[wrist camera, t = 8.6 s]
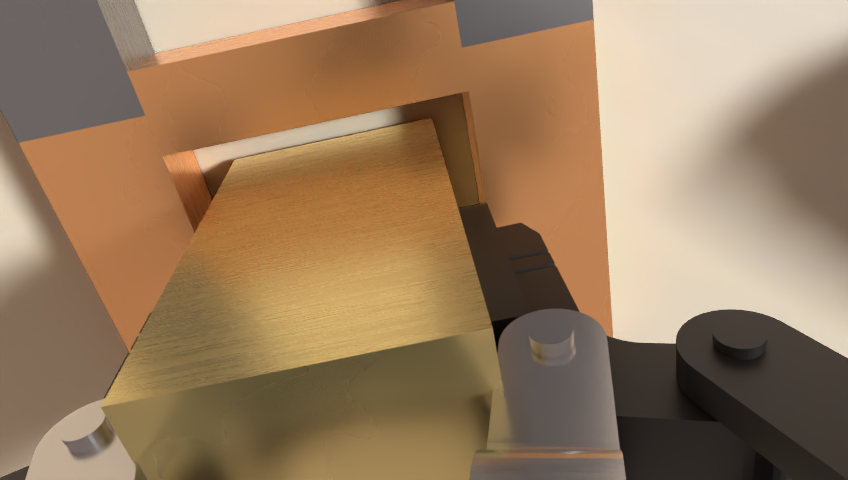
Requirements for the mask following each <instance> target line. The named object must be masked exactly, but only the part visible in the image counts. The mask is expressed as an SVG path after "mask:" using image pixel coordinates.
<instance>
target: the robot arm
mask: <svg viewBox="0 0 848 480" xmlns="http://www.w3.org/2000/svg"><path fill="white" fill-rule="evenodd" d="M458 209H459V213H460V216H461V220H462V223H463V227H464V230H465V234H466V237H467V241H468V244H469V248H470V251H471V255H472V258H473V261H474V265H475V268H476V272H477V275H478V279H479V282H480V286H481V289H482V293H483V296H484V300H485V303H486V306H487V310H488V313H489V317H490V320H491V324H492V327H493V333H494V338H495V344H496V350H497V356H498V362H499V367H500V373H501V379H502V385H503V388H498V389H493V397H492V406H491V414H490V423H489V432H488V441H487V448H486V450H476V452H475V453H474V456H473V460H472V464H471V470H470V477H469V480H848V358H846V357H844V356H842V355H841V354H839V353H837V352H835V351H833V350H832V349H830V348H828V347H826V346H824V345H823V344H821V343H819V342H817V341H815V340H814V339H812V338H810V337H808V336H806V335H805V334H803V333H801V332H799V331H797V330H796V329H794V328H792V327H790V326H788V325H787V324H785V323H783V322H781V321H779V320H777V319H775V318H772V317H770V316H767V315H764V314H760V313H756V312H751V311H745V310H717V311H711V312H707V313H703V314H700V315H698V316H695V317H693V318H692V319H690V320H688V321H687V322H686V323H685V324H684V325H682V327H681V328H680V330H679V331H678V334H677V336H676V344H664V343H636V342H628V341H622V340H619V339H615V338H612V337H609V336H607V335H606V332H605V331H604V329H603V327H602V326H601V325H600V324H599V323H598V322H597V321H596V320H595V319H593V318H592V317H590V316H588V315H586V314H583V313H581V312H580V311H579V309H578V307H577V305H576V303H575V301H574V299H573V297H572V296H571V294H570V292H569V290H568V288H567V286H566V284H565V282H564V280H563V278H562V276H561V274H560V272H559V270H558V268H557V266H555V262H554V260H553V259H552V257H551V255H550V253H548V249H547V247H546V245H545V243H544V241H543V239H542V237H541V235H540V234H539V233H538V232H536V231H534V230H533V229H531V228H529V227H528V226H526V225H524V224H523V223H516V224H512V225H507V226H502V227H496V225H495V222H494V219H493V217H492V214H491V212H490V209H489V207H488V204H487V202H486V203H481V204H476V205H472V206H467V207H462V208H458ZM151 313H152V312H151ZM151 313H150V314H149V316H148V318H149V317H150V315H151ZM148 318H147V319H146V321H145V323H144V325H143V327H142V329H141V330H140V332H139V333H141V331H142V330H143V328H144V326H145V324H146V322H147V320H148ZM138 337H139V336H137V338H136V340H135V341H134V343H133V345H132V347H131V350H132V348H133V346H134V344H135V342H136V341H137V339H138ZM129 354H130V353H128V354H127V356H126V358H125V360H124V362H123V364H122V365H121V367H120V369H119V371H118V373H117V375H116V376H115V378H114V380H113V382H112V384H111V386H110V387H109V389H108V391H107V393H106V395H105V397H104V398H103V399H101V400H98V401H95V402H92V403H90V404H87V405H85V406H83V407H81V408H79V409H77V410H75V411H74V412H72V413H70V414H69V415H67V416H66V417H64V418H63V419H62V420H60V421H59V422H58V423H57V424H55V425H54V426H53V427H52V428H51V429H50V430H49V431H48V432H47V433H46V434H45V435H44V437H43V438H42V439H41V440H40V442H39V443H38V445H37V447H36V449H35V451H34V453H33V457H32V460H31V463H30V466H27V467H25V468H23V469H20V470H18V471H15V472H13V473H11V474H8V475H6V476H4V477H1V478H0V480H147V478H146V476H145V474H144V473H143V471H142V469H141V468H140V466H139V464H138V462H137V461H134V462H133V461H132V460H131V458H130V456H129V455H128V453H127V451H126V450H125V448H124V446H123V444H122V443H121V441H120V439H119V438H118V436H117V434H116V433H115V431H114V429H113V427H112V426H111V424H110V422H109V421H108V419H107V417H106V416H105V414H104V412H103V410H102V409H101V405H102V403H103V402H104V400H105V398H106V396H107V394H108V392H109V390H110V389H111V387H112V385H113V383H114V381H115V379H116V378H117V376H118V374H119V372H120V370H121V368H122V366H123V365H124V363H125V361H126V359H127V357H128V355H129Z"/></svg>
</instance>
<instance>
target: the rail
mask: <svg viewBox="0 0 848 480" xmlns="http://www.w3.org/2000/svg"><path fill="white" fill-rule="evenodd" d="M458 93H462V97H463V103H464V109H465V115H466V121H467V127H468V133H469V140H470V146H471V152H472V158H473V164H474V170H475V176H476V182H477V188H478V194H479V200H480V204H481V203H486V202H487V204H488V207H489V209H490V212H491V214H492V217H493V219H494V222H495V225H496V227H502V226H507V225H512V224H516V223H523V224H524V225H526V226H528V227H529V228H531V229H533V230H534V231H536V232H538V233H539V234H540V235H541V237H542V239H543V241H544V243H545V245H546V247H547V249H548V253H550V255H551V257H552V259H553V260H554V262H555V266H557V268H558V270H559V272H560V274H561V276H562V278H563V280H564V282H565V284H566V286H567V288H568V290H569V292H570V294H571V296H572V297H573V299H574V301H575V303H576V305H577V307H578V309H579V311H580V312H581V313H583V314H586V315H588V316H590V317H592V318H593V319H595V320H596V321H597V322H598V323H599V324H600V325H601V326H602V327H603V329H604V331H605V332H606V335H607V336H609V337H612V338H613V330H612V314H611V298H610V281H609V265H608V248H607V232H606V216H605V199H604V183H603V167H602V150H601V134H600V118H599V101H598V85H597V68H596V52H595V36H594V19H593V3H592V0H400V1H395V2H391V3H386V4H381V5H377V6H372V7H367V8H363V9H358V10H354V11H349V12H344V13H340V14H335V15H331V16H326V17H321V18H317V19H312V20H308V21H303V22H298V23H294V24H289V25H284V26H280V27H275V28H271V29H266V30H261V31H257V32H252V33H248V34H243V35H238V36H234V37H229V38H225V39H220V40H215V41H211V42H206V43H201V44H197V45H192V46H188V47H183V48H178V49H174V50H169V51H165V52H160V53H154V50H153V48H152V45H151V42H150V40H149V37H148V35H147V32H146V30H145V27H144V25H143V22H142V20H141V17H140V14H139V12H138V9H137V7H136V4H135V2H134V0H0V109H1V111H2V113H3V115H4V117H5V119H6V121H7V123H8V125H9V126H10V128H11V130H12V132H13V134H14V136H15V138H16V140H17V141H18V143H19V145H20V147H21V149H22V151H23V153H24V155H25V157H26V158H27V160H28V162H29V164H30V166H31V168H32V170H33V172H34V174H35V175H36V177H37V179H38V181H39V183H40V185H41V187H42V189H43V191H44V192H45V194H46V196H47V198H48V200H49V202H50V204H51V206H52V208H53V209H54V211H55V213H56V215H57V217H58V219H59V221H60V223H61V225H62V226H63V228H64V230H65V232H66V234H67V236H68V238H69V240H70V242H71V243H72V245H73V247H74V249H75V251H76V253H77V255H78V257H79V258H80V260H81V262H82V264H83V266H84V268H85V270H86V272H87V274H88V275H89V277H90V279H91V281H92V283H93V285H94V287H95V289H96V291H97V292H98V294H99V296H100V298H101V300H102V302H103V304H104V306H105V308H106V309H107V311H108V313H109V315H110V317H111V319H112V321H113V323H114V325H115V326H116V328H117V330H118V332H119V334H120V336H121V338H122V340H123V342H124V343H125V345H126V347H127V349H128V351H129V353H130V352H131V347H132V345H133V343H134V341H135V340H136V338H137V336H139V335H140V333H139V332H140V330H141V329H142V327H143V325H144V323H145V321H146V319H147V318H148V316H149V314H150V313H151V312H152V311H153V309H154V307H155V306H156V304H157V302H158V300H159V298H160V296H161V294H162V293H163V291H164V289H165V287H166V285H167V283H168V282H169V280H170V278H171V276H172V274H173V272H174V270H175V269H176V267H177V265H178V263H179V261H180V259H181V258H182V256H183V254H184V252H185V250H186V248H187V246H188V245H189V243H190V241H191V239H192V237H193V235H194V234H195V232H196V230H197V228H198V226H199V224H200V222H201V221H202V219H203V217H204V215H205V213H206V211H207V210H208V208H209V206H210V204H211V202H212V198H211V196H210V193H209V191H208V188H207V185H206V183H205V180H204V178H203V175H202V173H201V170H200V168H199V165H198V162H197V160H196V157H195V155H194V152H193V150H194V149H199V148H204V147H208V146H213V145H218V144H223V143H227V142H232V141H237V140H241V139H246V138H251V137H255V136H260V135H265V134H270V133H274V132H279V131H284V130H288V129H293V128H298V127H303V126H307V125H312V124H317V123H321V122H326V121H331V120H335V119H340V118H345V117H350V116H354V115H359V114H364V113H368V112H373V111H378V110H382V109H387V108H392V107H397V106H401V105H406V104H411V103H415V102H420V101H425V100H429V99H434V98H439V97H444V96H448V95H453V94H458Z"/></svg>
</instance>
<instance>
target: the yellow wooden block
mask: <svg viewBox="0 0 848 480" xmlns="http://www.w3.org/2000/svg"><path fill="white" fill-rule="evenodd" d="M498 388H503V385H502V379H501V373H500V367H499V362H498V356H497V350H496V344H495V338H494V333H493V327H492V324H491V320H490V317H489V313H488V310H487V306H486V303H485V300H484V296H483V293H482V289H481V286H480V282H479V279H478V275H477V272H476V268H475V265H474V261H473V258H472V255H471V251H470V248H469V244H468V241H467V237H466V234H465V230H464V227H463V223H462V220H461V216H460V213H459V209H458V206H457V203H456V199H455V196H454V192H453V189H452V185H451V182H450V178H449V175H448V171H447V168H446V164H445V161H444V158H443V154H442V151H441V147H440V144H439V140H438V137H437V133H436V130H435V126H434V123H433V119H432V118H429V119H424V120H419V121H415V122H410V123H405V124H400V125H396V126H391V127H386V128H382V129H377V130H372V131H367V132H363V133H358V134H353V135H348V136H344V137H339V138H334V139H329V140H325V141H320V142H315V143H310V144H306V145H301V146H296V147H291V148H287V149H282V150H277V151H273V152H268V153H263V154H258V155H254V156H249V157H244V158H239V159H235V160H234V162H233V163H232V165H231V167H230V169H229V171H228V173H227V174H226V176H225V178H224V180H223V182H222V184H221V186H220V187H219V189H218V191H217V193H216V195H215V197H214V198H213V200H212V202H211V204H210V206H209V208H208V210H207V211H206V213H205V215H204V217H203V219H202V221H201V222H200V224H199V226H198V228H197V230H196V232H195V234H194V235H193V237H192V239H191V241H190V243H189V245H188V246H187V248H186V250H185V252H184V254H183V256H182V258H181V259H180V261H179V263H178V265H177V267H176V269H175V270H174V272H173V274H172V276H171V278H170V280H169V282H168V283H167V285H166V287H165V289H164V291H163V293H162V294H161V296H160V298H159V300H158V302H157V304H156V306H155V307H154V309H153V311H152V313H151V315H150V317H149V318H148V320H147V322H146V324H145V326H144V328H143V330H142V331H141V333H140V335H139V337H138V339H137V341H136V342H135V344H134V346H133V348H132V350H131V352H130V354H129V355H128V357H127V359H126V361H125V363H124V365H123V366H122V368H121V370H120V372H119V374H118V376H117V378H116V379H115V381H114V383H113V385H112V387H111V389H110V390H109V392H108V394H107V396H106V398H105V400H104V402H103V403H102V405H101V409H102V410H103V412H104V414H105V416H106V417H107V419H108V421H109V422H110V424H111V426H112V427H113V429H114V431H115V433H116V434H117V436H118V438H119V439H120V441H121V443H122V444H123V446H124V448H125V450H126V451H127V453H128V455H129V456H130V458H131V460H132V461H133V462H134V461H137V462H138V464H139V466H140V468H141V469H142V471H143V473H144V474H145V476H146V478H147V480H469V477H470V470H471V464H472V460H473V456H474V453H475V452H476V450H486V448H487V441H488V432H489V423H490V414H491V406H492V397H493V389H498Z"/></svg>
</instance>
